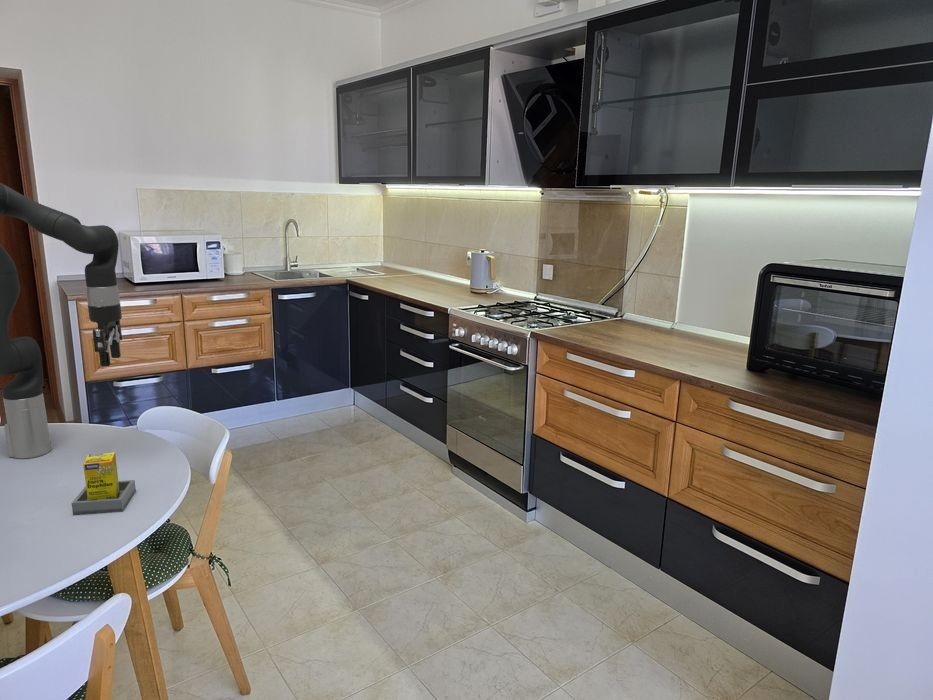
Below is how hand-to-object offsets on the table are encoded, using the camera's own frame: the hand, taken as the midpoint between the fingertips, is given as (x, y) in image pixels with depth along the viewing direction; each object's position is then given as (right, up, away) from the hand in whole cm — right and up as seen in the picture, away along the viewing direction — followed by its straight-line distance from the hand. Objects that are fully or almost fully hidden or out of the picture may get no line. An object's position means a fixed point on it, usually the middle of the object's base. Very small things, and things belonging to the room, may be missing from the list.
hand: (111, 361), depth 172 cm
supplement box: (+9, -33, -18) cm, 39 cm away
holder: (+9, -34, -18) cm, 39 cm away
